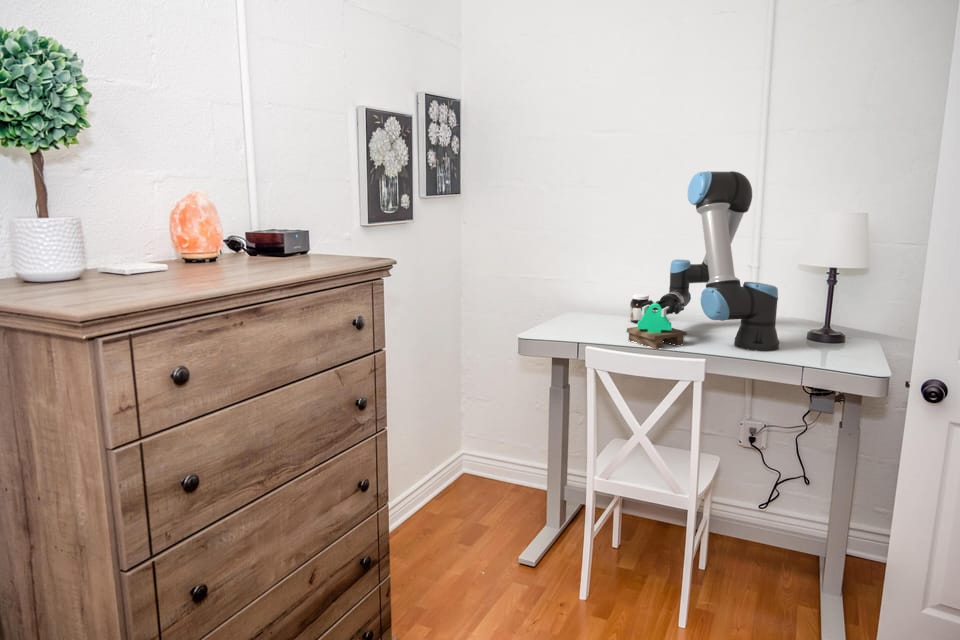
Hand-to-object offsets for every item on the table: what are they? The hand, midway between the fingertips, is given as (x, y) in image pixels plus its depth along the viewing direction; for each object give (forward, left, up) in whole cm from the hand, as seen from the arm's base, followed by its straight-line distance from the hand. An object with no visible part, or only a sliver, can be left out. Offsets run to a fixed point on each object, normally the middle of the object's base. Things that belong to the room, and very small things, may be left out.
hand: (652, 312), depth 249 cm
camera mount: (+2, -3, -8) cm, 9 cm away
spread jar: (+34, -26, -13) cm, 44 cm away
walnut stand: (+3, -4, -12) cm, 13 cm away
